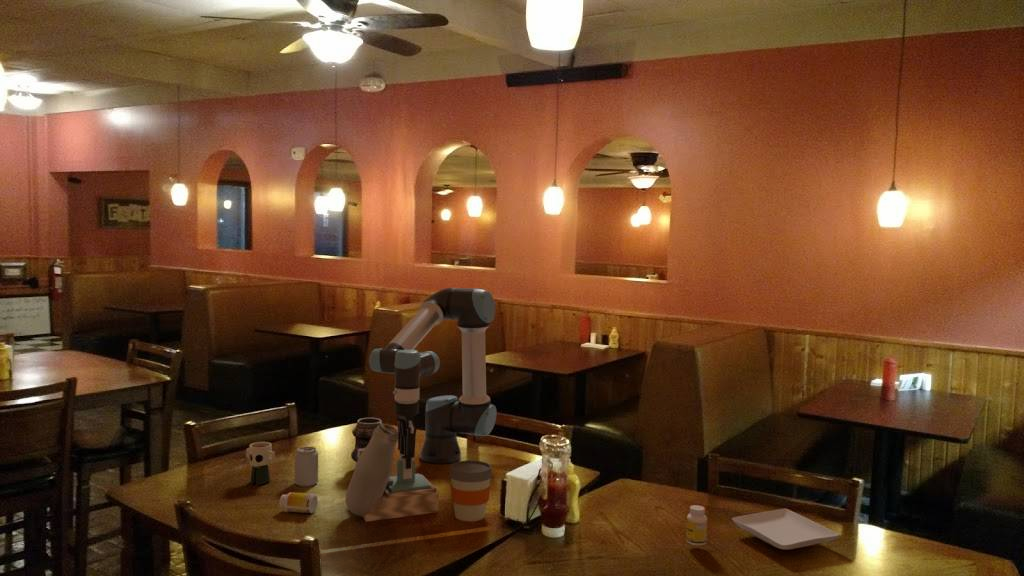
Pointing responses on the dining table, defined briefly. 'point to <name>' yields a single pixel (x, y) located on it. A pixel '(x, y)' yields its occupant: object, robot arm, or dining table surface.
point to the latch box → (404, 504)
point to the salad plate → (785, 529)
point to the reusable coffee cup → (470, 489)
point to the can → (306, 466)
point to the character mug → (260, 461)
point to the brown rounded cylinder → (372, 471)
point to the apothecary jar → (363, 434)
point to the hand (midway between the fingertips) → (405, 476)
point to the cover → (407, 480)
